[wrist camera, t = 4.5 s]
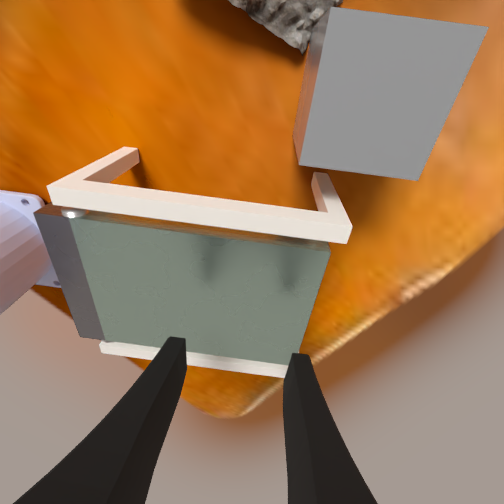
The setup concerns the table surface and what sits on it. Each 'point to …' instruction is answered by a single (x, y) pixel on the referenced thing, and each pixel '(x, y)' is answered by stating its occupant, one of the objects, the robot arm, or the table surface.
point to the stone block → (379, 90)
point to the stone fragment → (288, 17)
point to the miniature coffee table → (204, 213)
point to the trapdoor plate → (184, 282)
